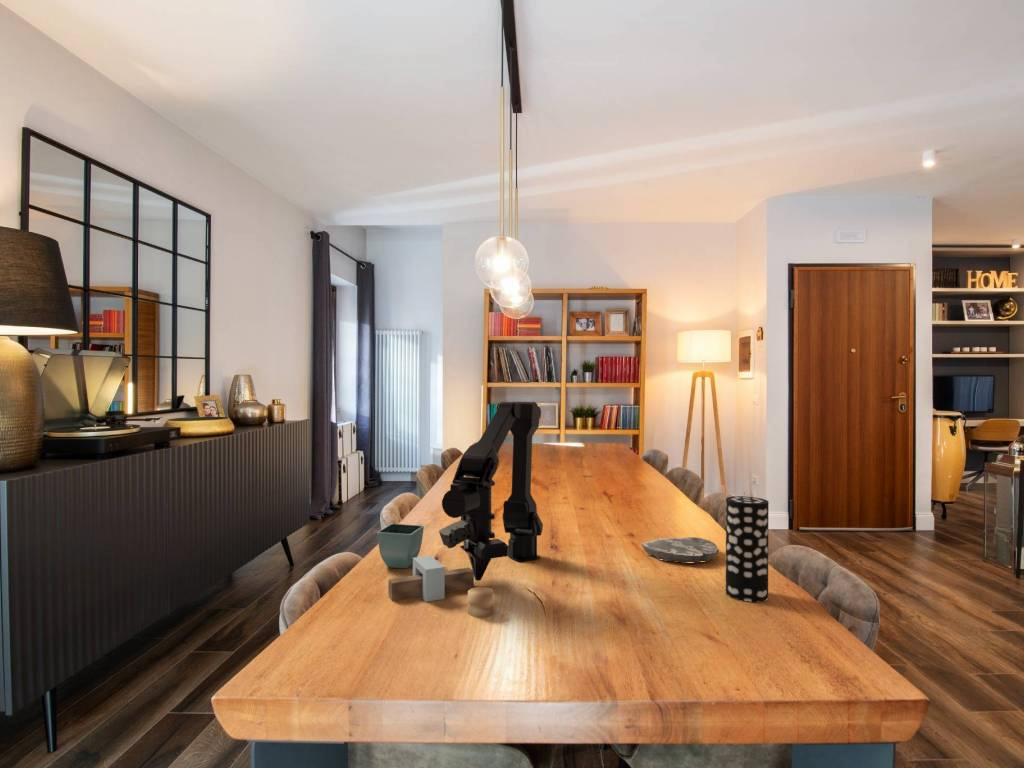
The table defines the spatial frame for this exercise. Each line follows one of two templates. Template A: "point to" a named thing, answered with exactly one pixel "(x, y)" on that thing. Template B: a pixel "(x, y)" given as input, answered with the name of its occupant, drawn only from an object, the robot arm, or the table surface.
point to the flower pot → (400, 544)
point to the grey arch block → (430, 577)
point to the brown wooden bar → (414, 584)
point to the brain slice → (681, 549)
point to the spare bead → (480, 602)
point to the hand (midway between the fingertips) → (478, 580)
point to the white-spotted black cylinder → (747, 548)
